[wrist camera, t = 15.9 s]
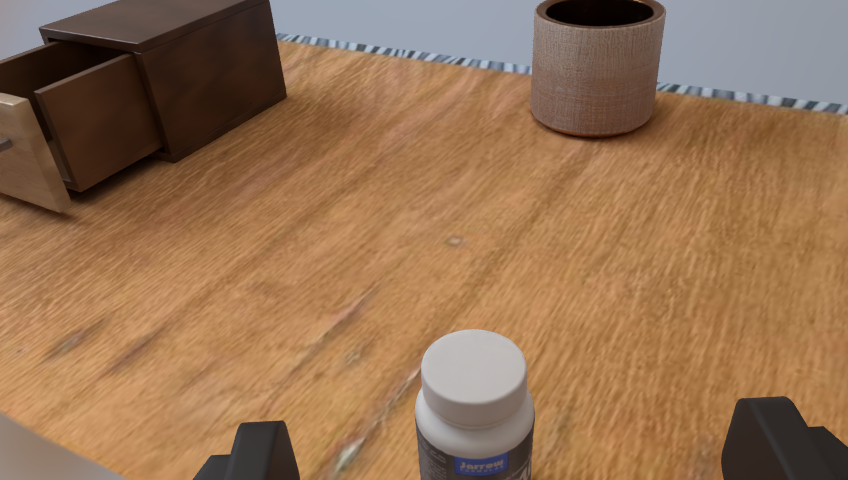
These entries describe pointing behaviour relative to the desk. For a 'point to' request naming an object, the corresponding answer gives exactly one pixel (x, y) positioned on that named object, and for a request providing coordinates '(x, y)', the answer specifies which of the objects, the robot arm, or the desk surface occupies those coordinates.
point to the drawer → (70, 120)
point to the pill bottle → (474, 409)
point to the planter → (595, 65)
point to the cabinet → (190, 61)
